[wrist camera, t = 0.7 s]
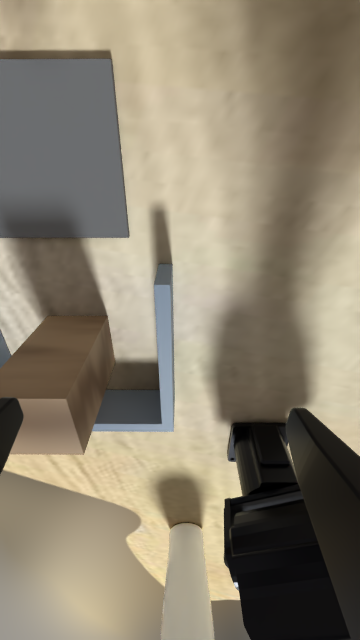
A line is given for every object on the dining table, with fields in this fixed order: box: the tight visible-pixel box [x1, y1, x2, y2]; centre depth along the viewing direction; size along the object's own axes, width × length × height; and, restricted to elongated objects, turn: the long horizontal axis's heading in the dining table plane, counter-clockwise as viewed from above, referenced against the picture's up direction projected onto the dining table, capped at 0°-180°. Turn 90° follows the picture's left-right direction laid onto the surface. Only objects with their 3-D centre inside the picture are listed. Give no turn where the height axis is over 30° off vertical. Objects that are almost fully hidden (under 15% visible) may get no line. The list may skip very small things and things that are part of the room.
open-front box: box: [0, 264, 175, 432], centre depth 21 cm, size 14×16×4 cm
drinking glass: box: [160, 523, 215, 640], centre depth 35 cm, size 7×7×15 cm
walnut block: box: [0, 316, 115, 455], centre depth 19 cm, size 5×5×9 cm
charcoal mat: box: [0, 59, 129, 238], centre depth 16 cm, size 9×10×1 cm
